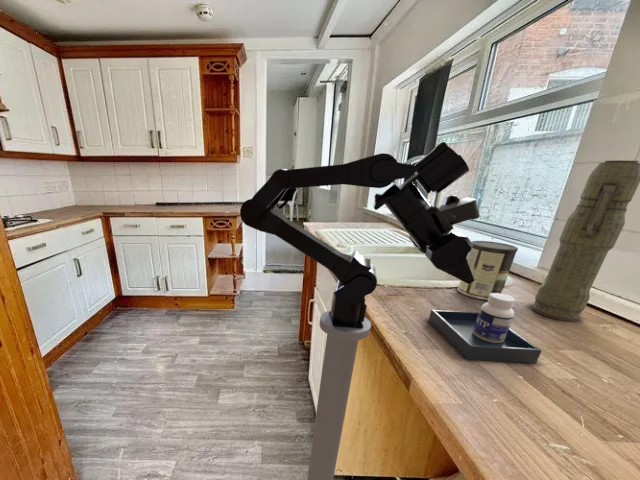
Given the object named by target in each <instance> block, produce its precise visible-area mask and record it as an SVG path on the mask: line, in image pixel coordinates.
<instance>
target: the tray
mask: <svg viewBox="0 0 640 480" xmlns="http://www.w3.org/2000/svg"><path fill="white" fill-rule="evenodd" d="M479 312H480V311H479ZM479 312H478V311H464V310H463V311H462V310H461V311H460V310H446V309H445V310H443V309H431V310H430V313H429V317H428V322H429V323H430V324H431V325H432V326H433V327H434V328H435V329H436V331H438V332H439V333H440V334H441V335H442V336H443V337H444V338H445V339H446V340H447V341H448V342H449V343H450V344H451V345H452V346H453V347H454V348H455V349H456V350H457V351H458V352H459V353H460V354H461V355H462V356H463V357H464V358H465V359H466V360H474V361H487V362H489V361H490V362H505V363H523V364H537V362H538V359H539V358H540V356H541V353H542V351H543V350H542V349H540V348H539V347H538V346H536V345H535V344H534V343H532V342H530V341H529V340H527V339H526V338H525V337H523V336H522V335H520V334H519V333H518V332H515V331H514V330H513V329H511V328H510V327H509V330H508V332H507V335H506V337H505V340H504V341H503V342H502V343H491V342H487V341H484V340H482V339H479V338H478V337H476V336H475V335H474V334H473V329H474V326H475V323H476V320H477V318H478V315H479Z"/></svg>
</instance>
